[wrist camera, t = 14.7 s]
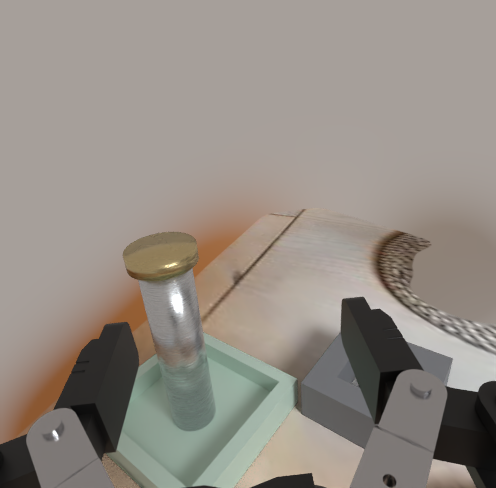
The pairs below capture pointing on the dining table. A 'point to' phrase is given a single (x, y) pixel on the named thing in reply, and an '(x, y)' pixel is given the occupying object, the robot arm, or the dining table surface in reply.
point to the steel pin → (175, 322)
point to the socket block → (351, 391)
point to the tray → (215, 433)
